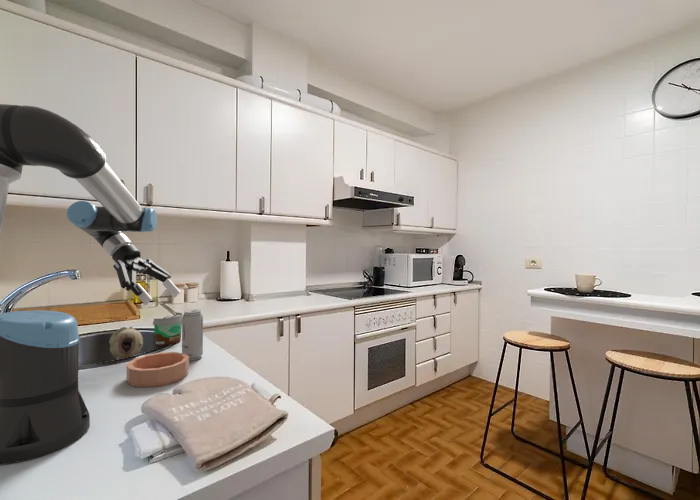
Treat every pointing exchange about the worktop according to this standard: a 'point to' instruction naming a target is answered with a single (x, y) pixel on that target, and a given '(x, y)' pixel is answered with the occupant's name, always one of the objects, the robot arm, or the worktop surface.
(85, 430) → the robot arm
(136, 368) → the terracotta bowl
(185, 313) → the energy drink can
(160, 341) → the food container
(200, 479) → the worktop surface
